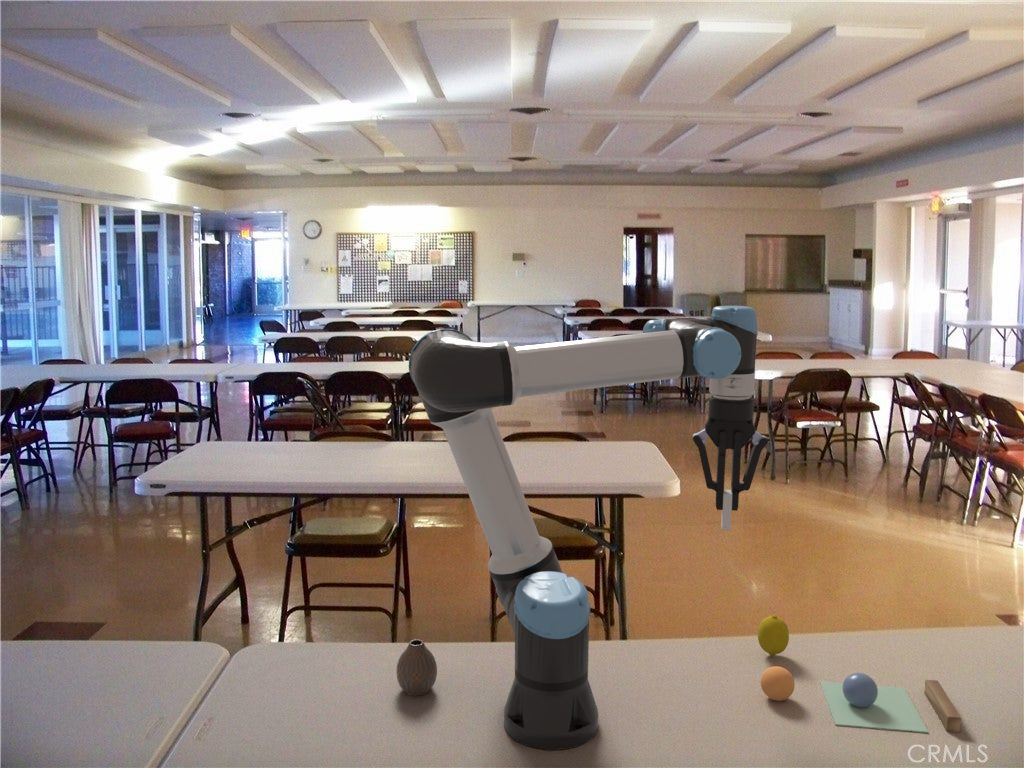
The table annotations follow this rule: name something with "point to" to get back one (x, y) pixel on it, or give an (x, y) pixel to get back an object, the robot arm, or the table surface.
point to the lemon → (773, 635)
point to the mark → (874, 709)
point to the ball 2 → (860, 690)
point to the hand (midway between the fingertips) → (725, 527)
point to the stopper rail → (942, 706)
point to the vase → (416, 669)
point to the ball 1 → (777, 683)
